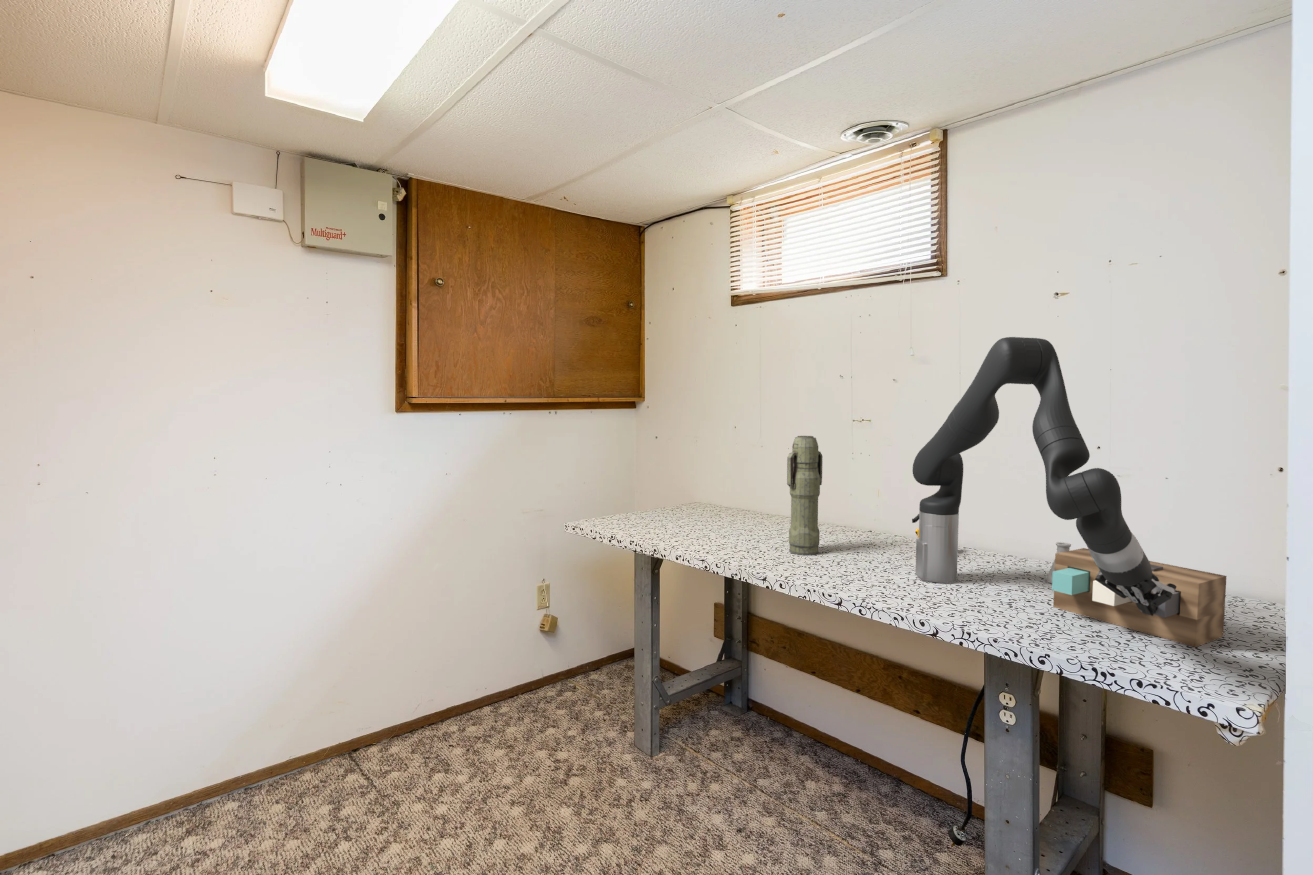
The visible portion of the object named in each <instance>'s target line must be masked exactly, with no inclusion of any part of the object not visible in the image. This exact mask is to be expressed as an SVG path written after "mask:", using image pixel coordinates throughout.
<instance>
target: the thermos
mask: <svg viewBox="0 0 1313 875" xmlns="http://www.w3.org/2000/svg"><path fill="white" fill-rule="evenodd" d="M791 447H792V448H791V449H792V450H791V452H790V453H789V454H788V456H787V460H786V462H787V463H786V475H787V476H786V484H787V486H788V488H789V495H790V503H791V504H790V527H789V528H788V529H789V530H788V543H789V548H788V550H789V551H788V552H789V553H791V554H793V555H797V556H816V555H818V554H819V552H820V550H819V546H820V531H821V530H820V529H819V496H820V495H821V486H822V484H823V454H822V452H821V451H820V450H819V444H818V441H817V438H816V437H814V436H813V435H797V436H796V437H794V440H793V443H792V446H791Z"/></svg>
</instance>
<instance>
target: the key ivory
mask: <svg viewBox="0 0 1313 875" xmlns="http://www.w3.org/2000/svg"><path fill="white" fill-rule="evenodd" d="M1117 588H1118V589H1119V590H1121V589H1120V588H1119V587H1117ZM1092 601H1096V602H1100V603H1104V604H1108V605H1111V606H1117V605H1120V604H1124V603H1127V602H1131V600H1130V598H1129V597H1127V598H1122V597H1120V596H1119V595H1117V594H1116V593H1114V592H1113V591H1111V590H1110V589H1108V588H1107V587H1105V586H1104V585H1102V584H1101V583H1099V582H1098V581H1096V580H1095V581H1093V595H1092Z"/></svg>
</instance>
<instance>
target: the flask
mask: <svg viewBox="0 0 1313 875" xmlns="http://www.w3.org/2000/svg"><path fill="white" fill-rule="evenodd" d="M1055 545H1056V553H1061V552H1066V551H1071V549H1070V548H1071V547H1072V544H1071V543H1069V542H1063V541H1062V542H1061V541H1060V542H1059V541H1057V542H1056V543H1055ZM1053 571H1055V559H1054V560H1053V562H1052V564H1051V566H1050V569H1049V571H1048V573H1047V575H1046V576H1045V578H1044V580H1045V582H1047V583H1049V584H1052V576H1053Z"/></svg>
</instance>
